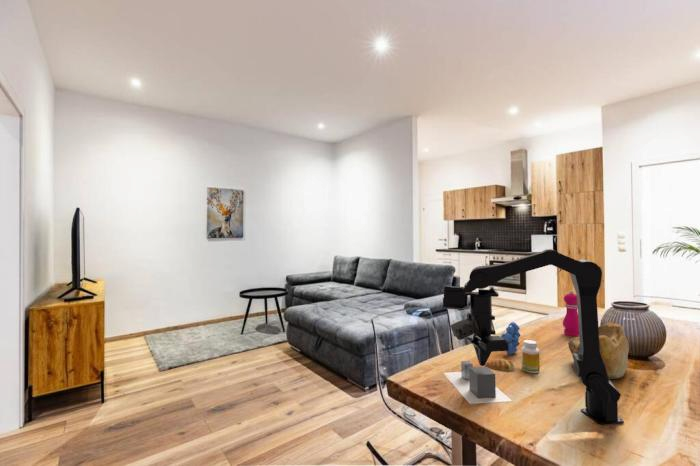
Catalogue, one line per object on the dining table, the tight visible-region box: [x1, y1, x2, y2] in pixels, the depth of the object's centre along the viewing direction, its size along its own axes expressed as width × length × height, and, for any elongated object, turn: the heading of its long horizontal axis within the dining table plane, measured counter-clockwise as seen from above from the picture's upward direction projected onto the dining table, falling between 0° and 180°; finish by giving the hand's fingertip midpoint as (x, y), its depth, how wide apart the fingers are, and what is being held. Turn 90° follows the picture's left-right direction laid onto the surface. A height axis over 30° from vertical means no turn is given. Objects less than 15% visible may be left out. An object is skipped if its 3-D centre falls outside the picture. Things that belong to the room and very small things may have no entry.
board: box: [443, 371, 513, 405], centre depth 101 cm, size 20×12×1 cm, turn 5°
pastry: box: [484, 358, 516, 372], centre depth 115 cm, size 9×7×4 cm
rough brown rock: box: [567, 321, 630, 380], centre depth 115 cm, size 23×17×15 cm
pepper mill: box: [562, 289, 579, 337], centre depth 151 cm, size 7×7×20 cm
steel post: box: [460, 360, 474, 380], centre depth 106 cm, size 3×3×5 cm
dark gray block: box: [469, 366, 497, 399], centre depth 96 cm, size 5×5×7 cm
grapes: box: [500, 321, 521, 356], centre depth 130 cm, size 12×7×12 cm, turn 136°
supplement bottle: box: [520, 339, 541, 374], centre depth 114 cm, size 5×5×10 cm
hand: (481, 365), depth 96 cm, fingers closed
